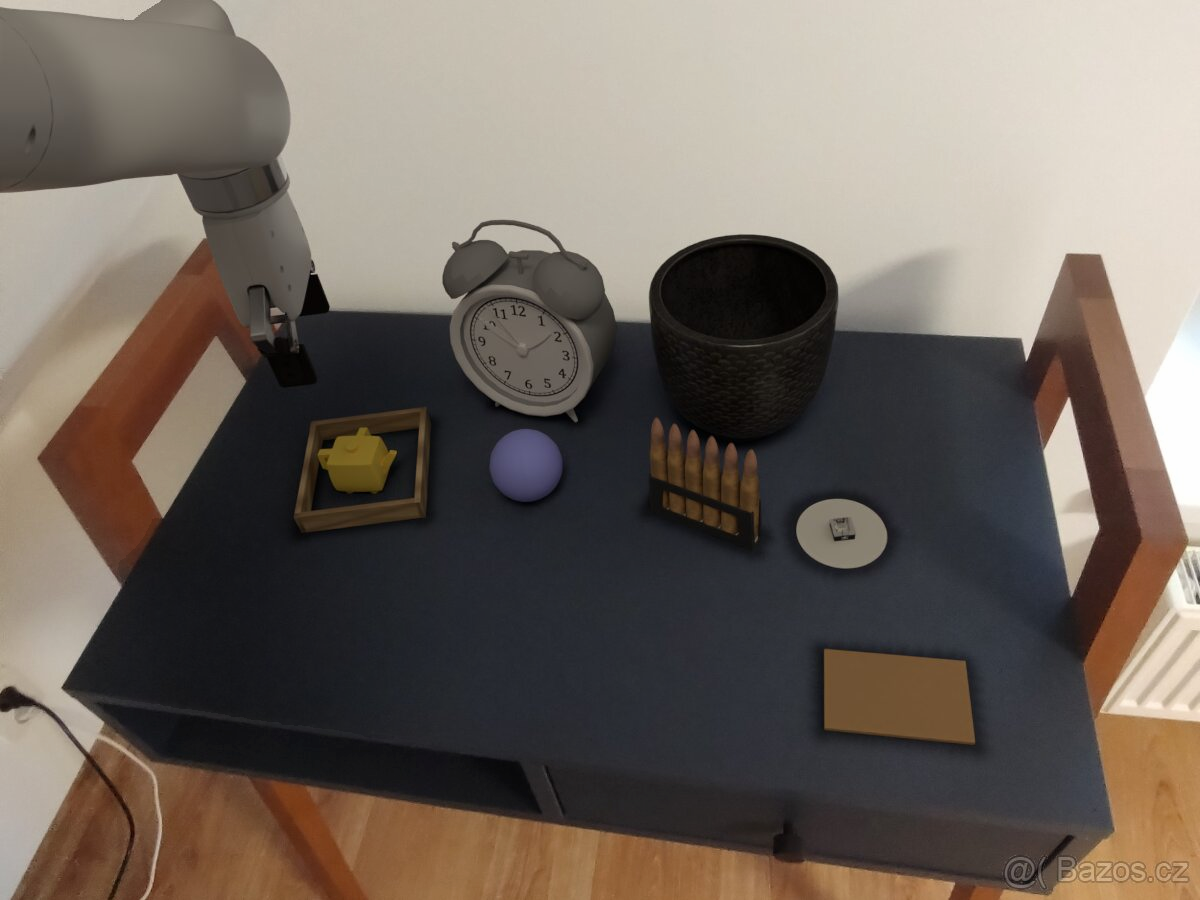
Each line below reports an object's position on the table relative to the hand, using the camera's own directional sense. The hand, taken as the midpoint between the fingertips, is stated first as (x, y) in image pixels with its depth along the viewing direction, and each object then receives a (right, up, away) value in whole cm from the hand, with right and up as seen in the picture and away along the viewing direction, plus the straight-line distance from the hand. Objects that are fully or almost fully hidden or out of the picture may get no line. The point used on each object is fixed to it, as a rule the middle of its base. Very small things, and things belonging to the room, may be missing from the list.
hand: (306, 346), depth 83 cm
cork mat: (+49, -29, -10) cm, 58 cm away
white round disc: (+48, -17, +2) cm, 51 cm away
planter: (+41, -5, +13) cm, 43 cm away
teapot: (+3, -12, +12) cm, 17 cm away
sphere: (+19, -13, +9) cm, 25 cm away
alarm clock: (+20, -4, +18) cm, 27 cm away
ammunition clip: (+36, -16, +4) cm, 40 cm away
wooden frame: (+3, -12, +12) cm, 17 cm away
